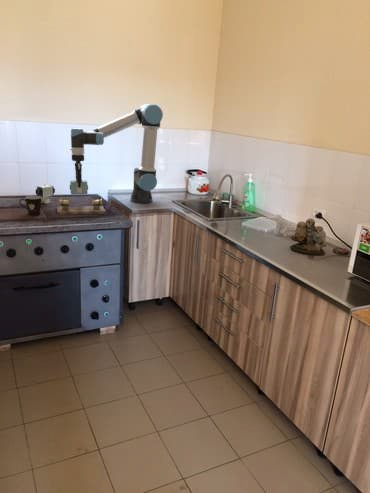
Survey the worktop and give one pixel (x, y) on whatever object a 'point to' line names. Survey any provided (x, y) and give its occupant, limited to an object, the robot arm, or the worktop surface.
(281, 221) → the toy dinosaur
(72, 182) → the coupling block
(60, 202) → the pipe rig
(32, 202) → the coffee mug
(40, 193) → the pneumatic valve
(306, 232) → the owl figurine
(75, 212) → the base board
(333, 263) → the worktop surface
